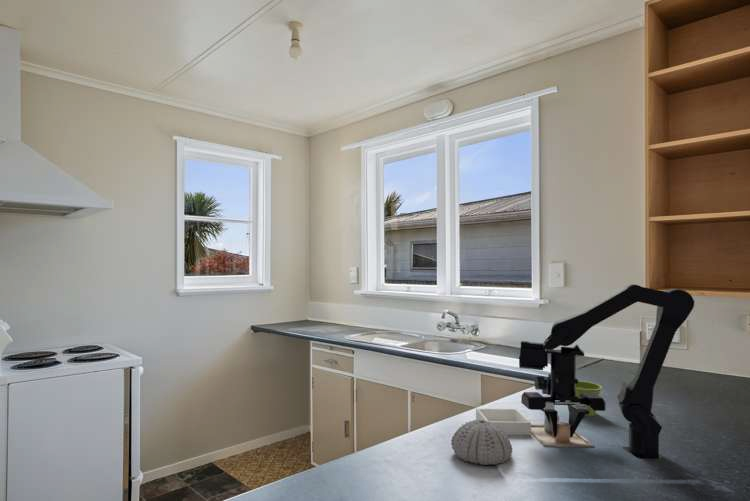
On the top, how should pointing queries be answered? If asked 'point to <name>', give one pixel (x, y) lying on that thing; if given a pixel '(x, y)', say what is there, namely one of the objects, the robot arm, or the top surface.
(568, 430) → the peach rounded cylinder
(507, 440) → the sea urchin shell
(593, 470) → the top surface
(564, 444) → the parts tray
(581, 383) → the plant pot
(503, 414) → the square storage bin
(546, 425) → the slate pebble
